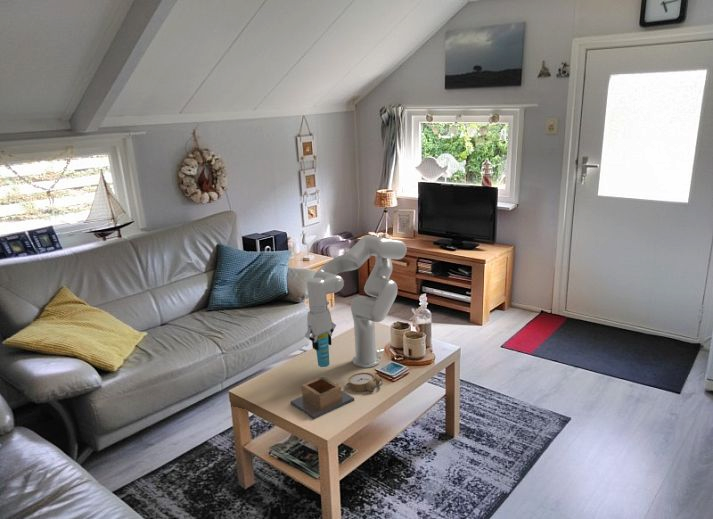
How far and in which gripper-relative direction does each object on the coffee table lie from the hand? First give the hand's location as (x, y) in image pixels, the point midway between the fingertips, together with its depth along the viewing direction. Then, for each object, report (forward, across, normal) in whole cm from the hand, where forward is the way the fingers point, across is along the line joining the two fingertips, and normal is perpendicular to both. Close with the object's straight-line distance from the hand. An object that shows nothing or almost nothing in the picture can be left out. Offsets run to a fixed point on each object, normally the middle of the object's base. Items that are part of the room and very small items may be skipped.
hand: (322, 346), depth 234 cm
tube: (+9, 0, 0) cm, 9 cm away
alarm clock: (+17, -10, +15) cm, 25 cm away
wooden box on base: (+16, +11, +13) cm, 24 cm away
